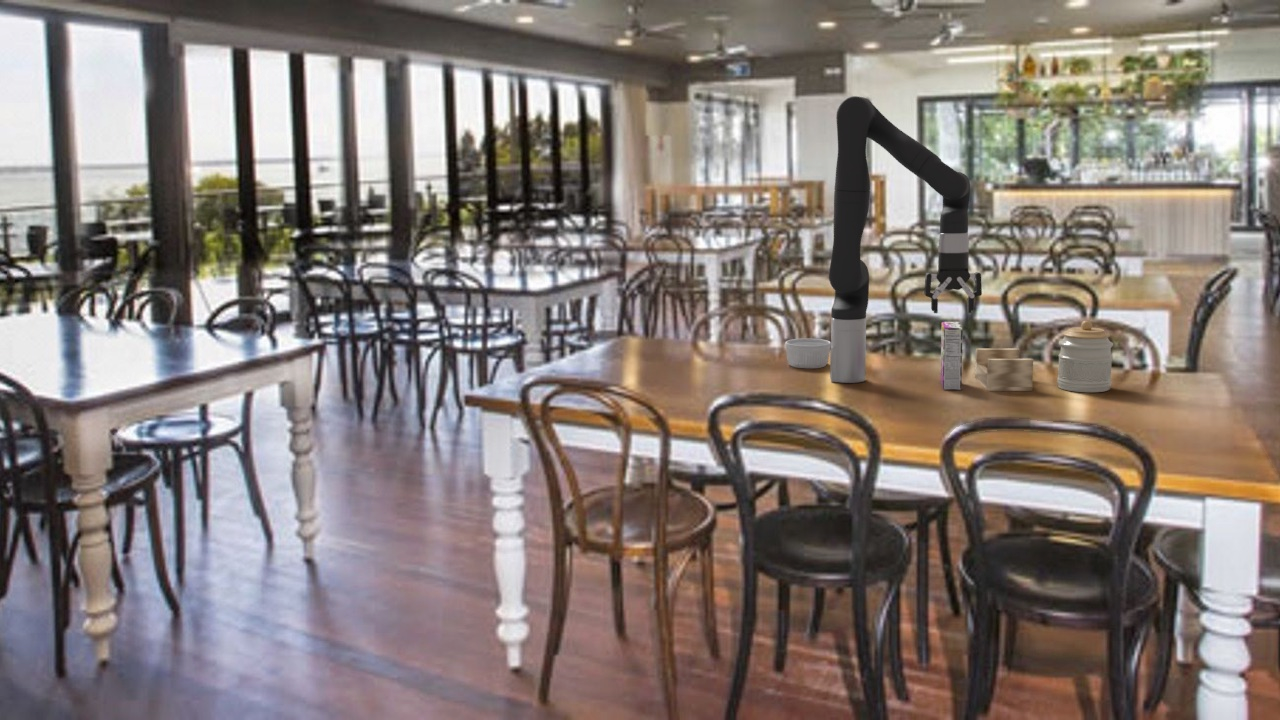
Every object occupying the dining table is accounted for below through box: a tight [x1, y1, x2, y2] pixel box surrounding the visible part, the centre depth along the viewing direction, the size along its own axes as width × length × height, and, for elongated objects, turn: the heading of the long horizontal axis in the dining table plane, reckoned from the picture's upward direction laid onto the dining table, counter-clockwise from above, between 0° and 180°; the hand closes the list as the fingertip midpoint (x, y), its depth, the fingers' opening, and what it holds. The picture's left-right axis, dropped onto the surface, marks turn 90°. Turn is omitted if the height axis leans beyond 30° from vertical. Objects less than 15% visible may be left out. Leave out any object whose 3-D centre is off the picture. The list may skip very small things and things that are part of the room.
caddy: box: [974, 347, 1034, 392], centre depth 302 cm, size 11×18×8 cm, turn 174°
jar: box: [1056, 320, 1114, 393], centre depth 293 cm, size 13×13×18 cm
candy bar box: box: [940, 321, 963, 391], centre depth 299 cm, size 11×5×16 cm, turn 168°
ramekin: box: [784, 338, 831, 369], centre depth 335 cm, size 13×13×7 cm
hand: (952, 312), depth 297 cm, fingers open, 8 cm apart
